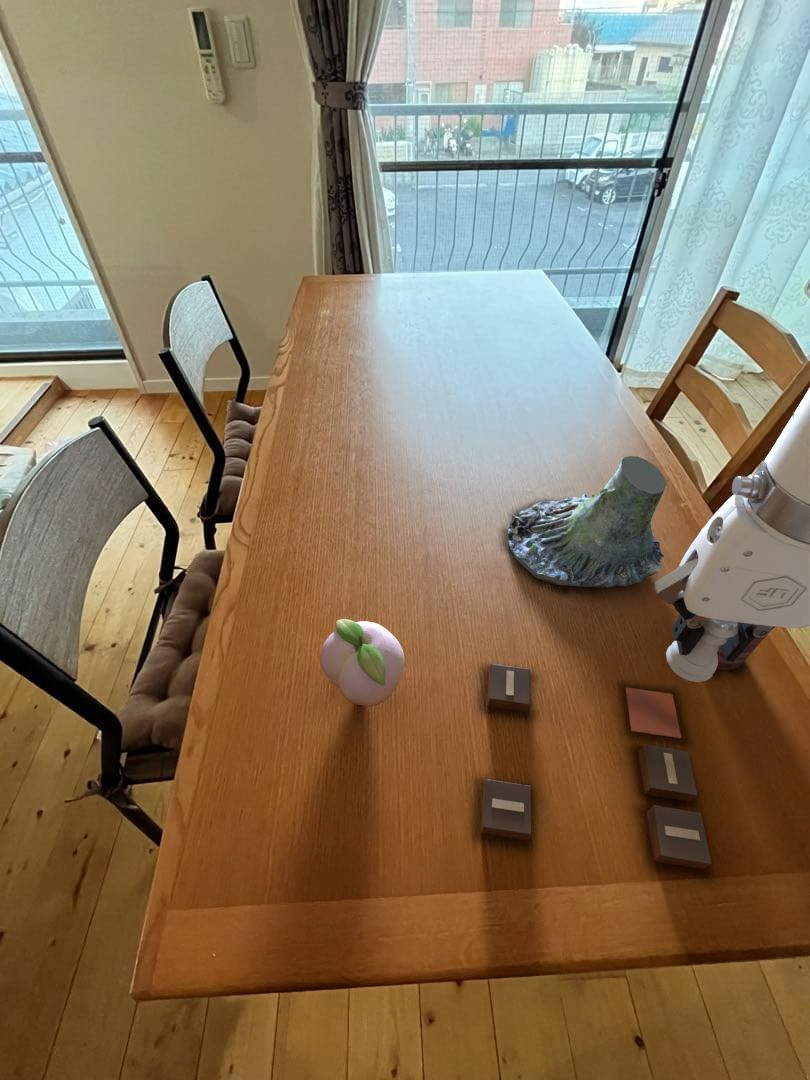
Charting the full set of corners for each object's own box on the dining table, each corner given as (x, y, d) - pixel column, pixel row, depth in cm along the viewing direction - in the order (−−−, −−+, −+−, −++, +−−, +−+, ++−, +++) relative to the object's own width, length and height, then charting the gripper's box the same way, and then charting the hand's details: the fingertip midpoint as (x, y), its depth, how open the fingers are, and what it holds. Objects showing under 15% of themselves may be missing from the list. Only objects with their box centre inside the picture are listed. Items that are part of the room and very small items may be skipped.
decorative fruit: (420, 689, 63) (424, 640, 56) (365, 737, 59) (361, 691, 52) (366, 637, 67) (363, 586, 60) (312, 679, 64) (302, 629, 56)
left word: (527, 841, 52) (531, 834, 51) (480, 833, 53) (483, 826, 51) (526, 677, 64) (530, 668, 63) (488, 672, 64) (491, 662, 63)
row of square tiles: (707, 870, 51) (717, 864, 49) (649, 860, 51) (657, 854, 50) (671, 694, 63) (679, 685, 61) (625, 688, 63) (631, 678, 62)
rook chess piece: (690, 638, 56) (725, 589, 50) (722, 675, 53) (763, 628, 47) (654, 652, 55) (685, 603, 49) (685, 690, 52) (722, 644, 46)
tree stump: (528, 487, 88) (585, 396, 74) (642, 552, 85) (722, 469, 72) (486, 559, 76) (545, 466, 62) (617, 637, 73) (707, 557, 60)
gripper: (699, 523, 36) (616, 668, 50) (970, 553, 35) (809, 694, 48) (677, 453, 41) (607, 601, 55) (913, 477, 40) (782, 623, 53)
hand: (703, 643), depth 51 cm, fingers closed on rook chess piece, 3 cm apart
